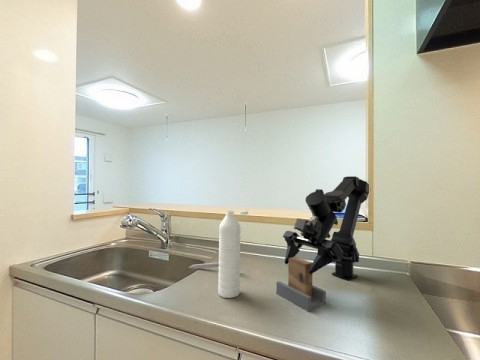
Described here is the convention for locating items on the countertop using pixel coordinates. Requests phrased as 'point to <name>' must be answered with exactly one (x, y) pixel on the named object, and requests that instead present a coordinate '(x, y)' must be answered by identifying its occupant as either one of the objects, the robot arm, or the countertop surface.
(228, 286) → the water bottle
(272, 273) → the countertop surface
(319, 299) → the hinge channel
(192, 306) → the countertop surface
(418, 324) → the countertop surface
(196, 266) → the caliper
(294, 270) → the door slab
